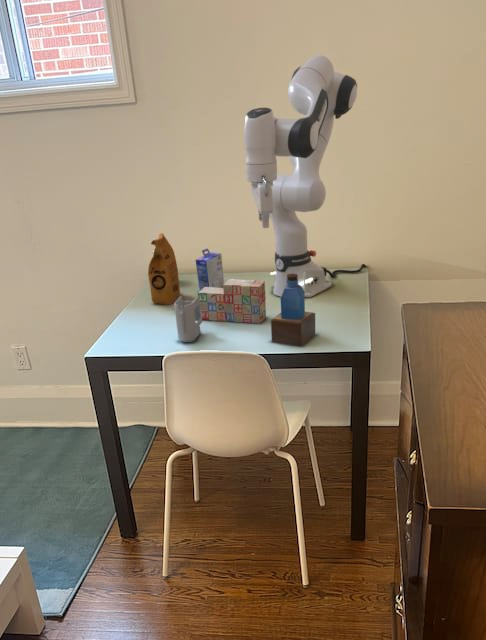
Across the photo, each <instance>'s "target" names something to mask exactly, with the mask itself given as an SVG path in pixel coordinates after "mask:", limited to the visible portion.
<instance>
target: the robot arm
mask: <svg viewBox="0 0 486 640" xmlns="http://www.w3.org/2000/svg"><path fill="white" fill-rule="evenodd" d="M357 96H358V83H357V80H356V79H355V78H353V77H352V76H350V75H348V74H342V73H340V72H337V71H335V69H334V64H333V63H332V62H331V60H330V59H329V58H328V57H326V56H324V55H321V54H317V55H314V56H312V57H310V58H309V59H308V60H306V61H305V62H304V63H303V64H302V65H301V66H299V67H297V68H296V69H295V70H294V71H293V74H292V76H291V79H290V82H289V85H288V88H287V97H288V101H289V103H290V105H291V107H292V108H293V109H294V110H295V111H296V113H299V114H300V115H303V116H304V117H300V118H277V117H275V116H274V111H273V110H272V108H270V107H257V108H252V109H251V110H248V112H246V115H245V117H244V128H243V132H244V133H243V135H244V136H243V137H244V138H243V140H244V148H245V152H246V158H245V176H246V182H248V183H250V187H251V192H252V193H251V194H252V198H253V202H254V203H255V205H256V208H257V214H258V220H259V221H260V222H261V225H262V227H263V229H268V228H269V227H270V220H271V223H272V226H273V231H274V241H275V252H274V264H275V271H273V272H270V275H274V284H273V289H272V294H273V295H274V296H277V297H280V298H281V296H282V294H283V292H284V289H285V287H286V285H288V284H287V281H286V279H287V275H288V274H297V275H298V276H297V278H298V283H297V285H301V287H302V288H303V290H304V292H305V298H311V297H314V296H315V295H318V294H319V293H321V292H323V291H325V290H328V289H329V288H331V287H332V286H333V284H332V282H331V281H329V280H326V277H327V274H328V275H329V276H330V277H331V278H335V277H336V276H335V274H337V273H346V274H347V273H349V274H357V273H359V272H362V270H363V268H367V265H366V264H365V263H362V264H361V265H360V267H359V269H356V270H355V269H354V270H348V269H336V270H333V271H332V272H331V271H330V270H329V269H327V267H324V266H320V265H319V264H317V263H315V262H314V261H313V260H312V258H311V257H313V258H315V257H316V256H317V251H316V250H312V249H311V250H308V229H307V226H306V225H305V224H304V222H302V221H301V220H300V219H299V217H298V216H297V213H296V212H300V213H309V212H314V211H315V212H316V211H318V210H320V209H321V207H323V205H324V203H325V202H326V201H325V200H326V197H327V196H326V195H327V191H326V187H325V184H324V182H323V180H321V177H320V166H321V163H322V160H323V158H324V155H325V152H326V149H327V147H328V145H329V142H330V139H331V136H332V131H333V127H334V123H335V120H338V119H339V120H340V118H341V117H342V116H343V115H345V114H347V113H348V112H349V111H350V110H351V109H352V108H353V106H354V104H355V102H356V99H357ZM277 157H287V158H289V161H290V163H291V165H292V166H293V167H294V170H293V173H292V174H282V173H281V174H280V173H278V166H277V165H278V163H277Z"/></svg>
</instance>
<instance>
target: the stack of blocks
mask: <svg viewBox="0 0 486 640" xmlns="http://www.w3.org/2000/svg"><path fill="white" fill-rule="evenodd" d="M197 296H199V299H200V304H201V314H202V320H207V321H219V322H234V323H245V324H258V325H260V324H262V323H263V321H264V320H265V319H266V318H267V309H266V308H267V307H266V303H267V302H266V281H265V280H255V279H237V278H235V279H232V278H229V279H227V281H225V282H224V284H223V287H222V288H214V287H204V288H203V289H202V290H201V291H200V290H199V291H198V292H197Z"/></svg>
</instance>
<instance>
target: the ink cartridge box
mask: <svg viewBox="0 0 486 640" xmlns="http://www.w3.org/2000/svg"><path fill="white" fill-rule="evenodd" d="M201 252H202V254H203V256H200V257H199V258H197V259H195V267H196V275H197V283H198V289H199V291H201V290H202V289H203V288H204V287H214V288H223V284H225V276H224V266H223V265H224V264H223V256H222V253H219V252H218V253H217V252H210V250H209V248H204V249H202V250H201ZM206 252H207V253H206Z"/></svg>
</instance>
